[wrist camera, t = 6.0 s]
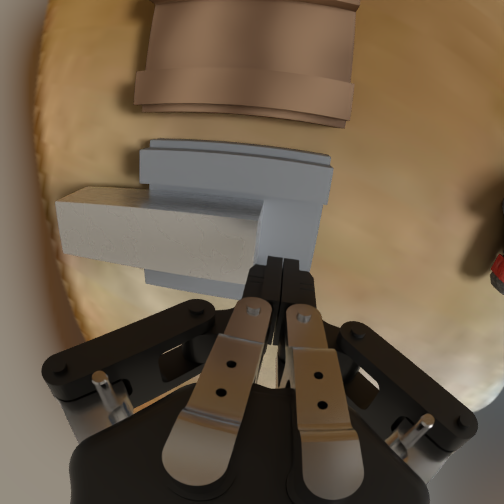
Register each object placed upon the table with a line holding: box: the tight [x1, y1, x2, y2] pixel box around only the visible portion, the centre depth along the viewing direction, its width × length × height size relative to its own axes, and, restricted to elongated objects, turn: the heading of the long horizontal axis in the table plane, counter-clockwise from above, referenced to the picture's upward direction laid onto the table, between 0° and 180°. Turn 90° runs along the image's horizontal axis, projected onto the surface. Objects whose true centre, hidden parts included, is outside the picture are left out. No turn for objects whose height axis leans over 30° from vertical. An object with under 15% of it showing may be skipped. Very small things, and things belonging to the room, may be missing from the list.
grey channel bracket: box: [140, 138, 333, 300], centre depth 20 cm, size 12×11×3 cm
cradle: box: [134, 0, 360, 128], centre depth 14 cm, size 13×11×3 cm
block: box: [55, 186, 264, 285], centre depth 18 cm, size 14×4×4 cm, turn 85°
